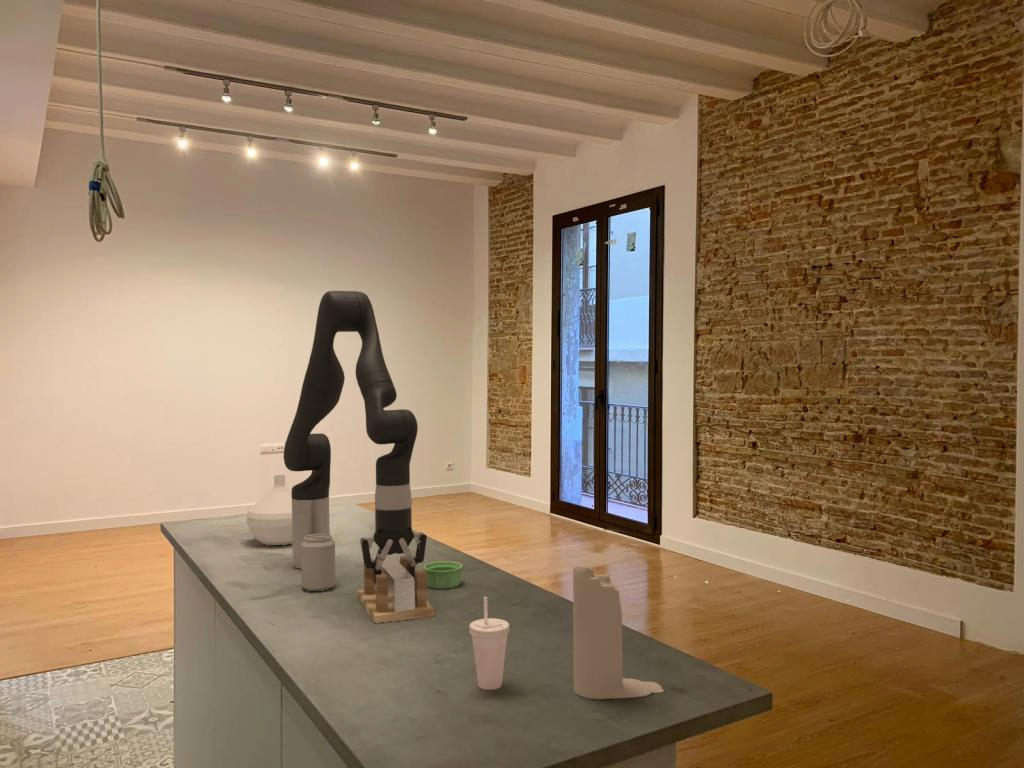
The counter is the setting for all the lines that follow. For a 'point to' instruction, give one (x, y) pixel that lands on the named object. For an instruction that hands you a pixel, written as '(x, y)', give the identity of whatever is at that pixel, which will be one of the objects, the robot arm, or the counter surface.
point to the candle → (600, 640)
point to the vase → (272, 515)
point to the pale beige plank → (399, 586)
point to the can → (318, 562)
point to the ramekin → (443, 574)
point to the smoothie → (489, 649)
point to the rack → (378, 597)
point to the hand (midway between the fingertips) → (394, 584)
